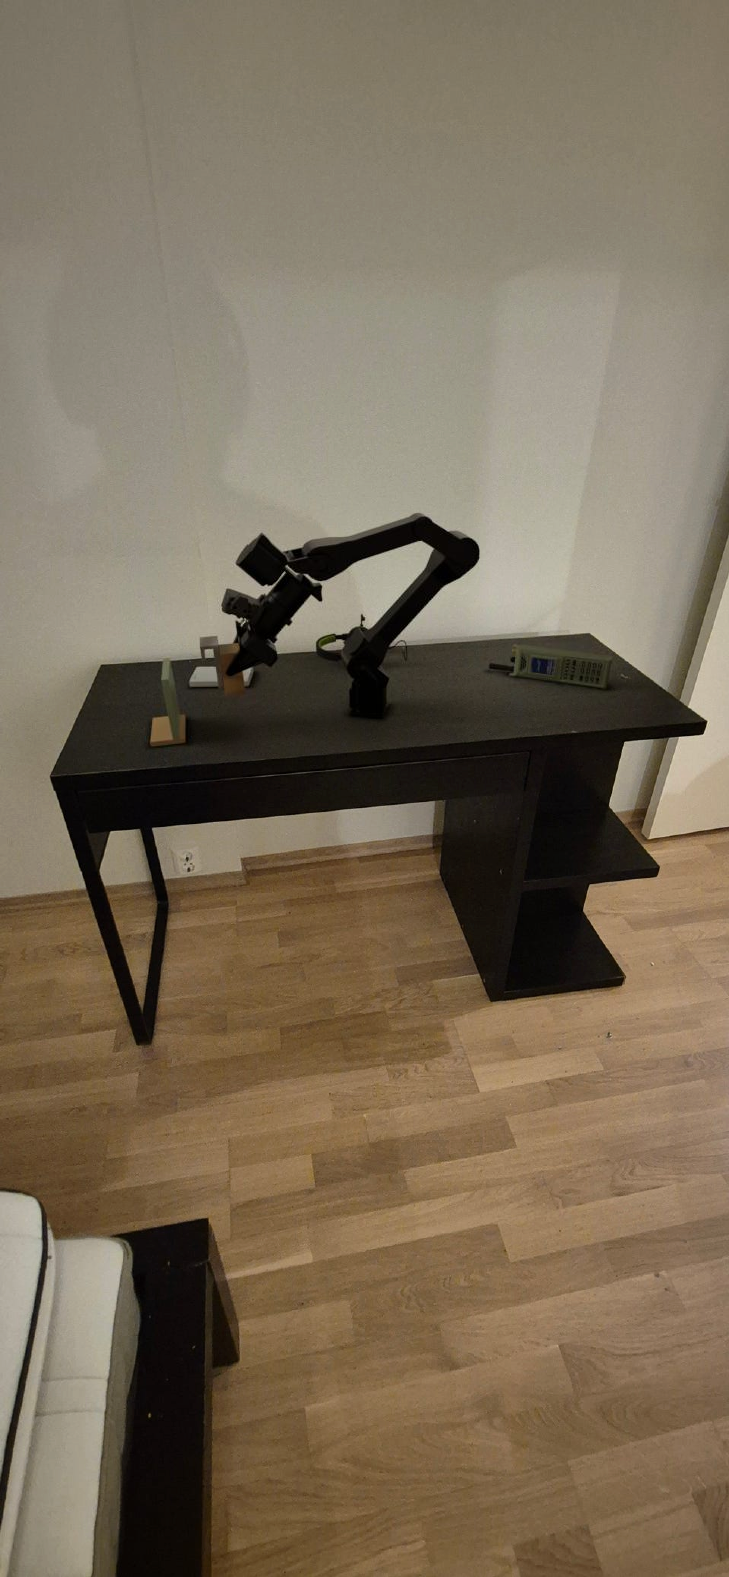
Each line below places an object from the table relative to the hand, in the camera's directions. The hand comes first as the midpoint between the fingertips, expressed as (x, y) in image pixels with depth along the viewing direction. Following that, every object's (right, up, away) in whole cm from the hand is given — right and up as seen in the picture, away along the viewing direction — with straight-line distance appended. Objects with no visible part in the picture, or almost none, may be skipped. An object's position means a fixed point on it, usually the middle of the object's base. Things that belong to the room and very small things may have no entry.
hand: (226, 669), depth 119 cm
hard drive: (-6, +2, +25) cm, 25 cm away
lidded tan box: (-1, -4, +2) cm, 4 cm away
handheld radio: (+64, +2, +23) cm, 68 cm away
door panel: (-12, -11, +4) cm, 16 cm away
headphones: (+24, +8, +33) cm, 42 cm away
